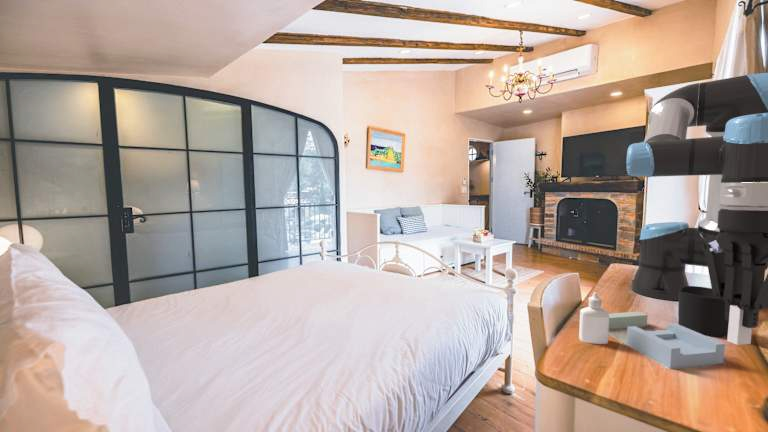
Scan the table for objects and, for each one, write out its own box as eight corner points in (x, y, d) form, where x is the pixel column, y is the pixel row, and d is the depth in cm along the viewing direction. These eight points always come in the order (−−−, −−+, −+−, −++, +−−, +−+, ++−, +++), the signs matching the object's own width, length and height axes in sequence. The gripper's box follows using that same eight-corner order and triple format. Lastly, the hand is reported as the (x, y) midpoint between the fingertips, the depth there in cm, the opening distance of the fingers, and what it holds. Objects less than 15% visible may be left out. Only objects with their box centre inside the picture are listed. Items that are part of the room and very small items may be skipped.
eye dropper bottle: (606, 350, 72) (608, 298, 71) (577, 342, 76) (579, 292, 75) (609, 343, 76) (611, 292, 74) (581, 336, 79) (583, 287, 78)
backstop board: (638, 324, 85) (638, 311, 85) (727, 366, 65) (728, 350, 65) (592, 328, 83) (592, 314, 83) (669, 372, 64) (670, 355, 63)
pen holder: (741, 338, 77) (744, 297, 76) (707, 342, 75) (711, 300, 74) (696, 322, 86) (699, 284, 85) (666, 325, 84) (668, 287, 83)
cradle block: (673, 339, 75) (674, 322, 75) (723, 363, 65) (725, 343, 65) (626, 343, 74) (627, 326, 73) (670, 368, 64) (671, 348, 64)
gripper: (690, 206, 61) (681, 327, 63) (782, 211, 48) (768, 363, 50) (725, 205, 62) (715, 325, 64) (824, 210, 49) (808, 360, 51)
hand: (738, 342), depth 57 cm, fingers closed
